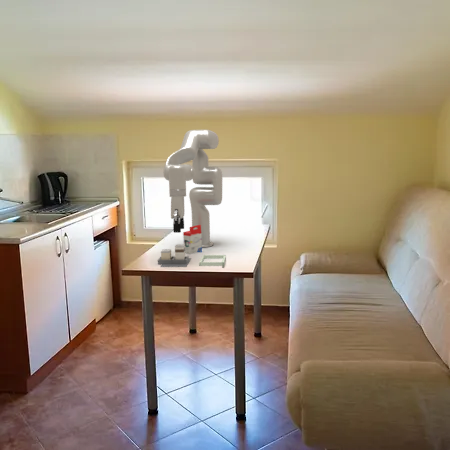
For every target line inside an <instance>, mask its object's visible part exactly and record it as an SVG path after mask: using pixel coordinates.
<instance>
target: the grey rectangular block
mask: <svg viewBox="0 0 450 450" xmlns="http://www.w3.org/2000/svg"><path fill="white" fill-rule="evenodd" d="M174 254H175V255H174V256H175V260H185V256H186V253H185V245H184V244H175V245H174Z"/></svg>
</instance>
